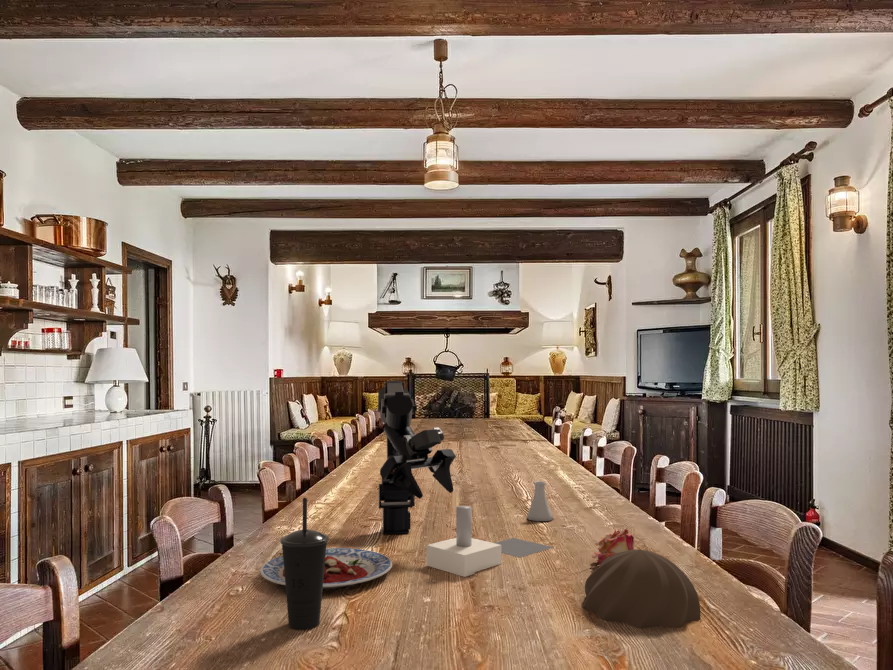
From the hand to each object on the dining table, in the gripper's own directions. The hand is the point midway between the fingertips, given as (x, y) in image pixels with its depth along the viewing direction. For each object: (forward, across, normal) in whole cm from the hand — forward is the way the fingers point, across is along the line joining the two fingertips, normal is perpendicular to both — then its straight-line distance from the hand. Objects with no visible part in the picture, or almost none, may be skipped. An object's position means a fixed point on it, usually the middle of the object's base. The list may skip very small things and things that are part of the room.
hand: (437, 494), depth 147 cm
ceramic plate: (+5, -24, +15) cm, 28 cm away
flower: (+31, +21, -12) cm, 39 cm away
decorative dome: (+43, +4, -23) cm, 49 cm away
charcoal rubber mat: (+15, +18, +4) cm, 24 cm away
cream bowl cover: (+15, 0, +4) cm, 16 cm away
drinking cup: (+19, -42, +1) cm, 45 cm away
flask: (+4, +46, +15) cm, 49 cm away
